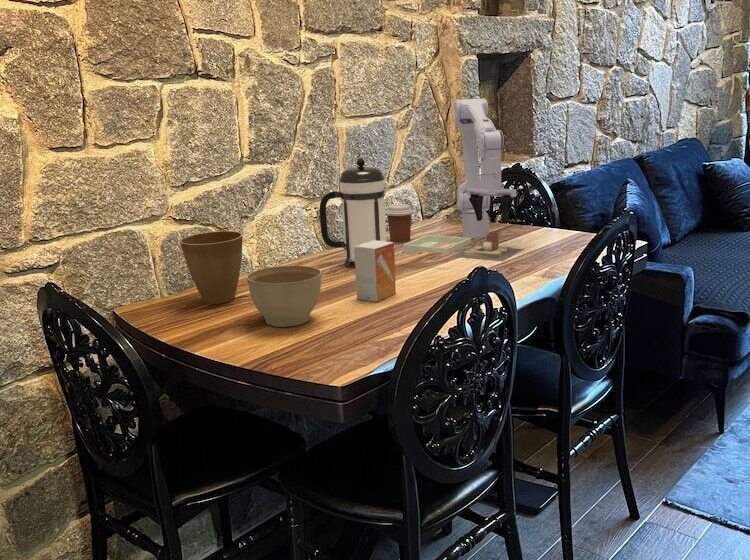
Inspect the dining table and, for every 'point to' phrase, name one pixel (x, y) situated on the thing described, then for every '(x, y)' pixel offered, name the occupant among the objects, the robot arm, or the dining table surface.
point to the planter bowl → (285, 293)
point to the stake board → (503, 257)
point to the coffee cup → (399, 223)
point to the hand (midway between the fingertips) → (491, 221)
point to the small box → (375, 270)
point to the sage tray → (429, 240)
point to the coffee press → (358, 209)
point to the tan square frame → (495, 248)
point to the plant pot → (214, 263)
